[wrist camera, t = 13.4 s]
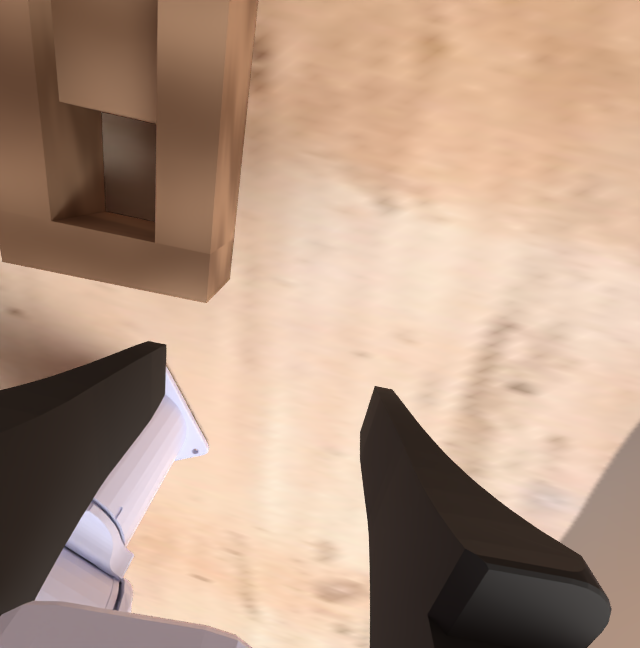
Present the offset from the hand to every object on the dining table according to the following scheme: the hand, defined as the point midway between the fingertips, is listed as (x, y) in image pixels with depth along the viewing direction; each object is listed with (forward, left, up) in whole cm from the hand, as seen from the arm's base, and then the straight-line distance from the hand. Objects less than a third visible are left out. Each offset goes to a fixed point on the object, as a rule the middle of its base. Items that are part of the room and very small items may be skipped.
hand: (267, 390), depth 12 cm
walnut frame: (-5, +11, -10) cm, 16 cm away
